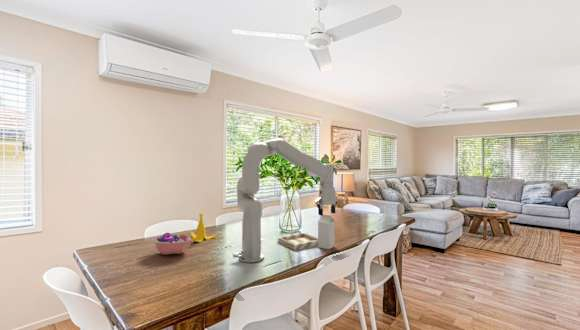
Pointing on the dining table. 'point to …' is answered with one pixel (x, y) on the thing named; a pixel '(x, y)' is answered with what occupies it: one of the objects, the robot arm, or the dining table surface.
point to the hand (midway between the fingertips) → (326, 214)
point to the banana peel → (201, 232)
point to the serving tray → (298, 241)
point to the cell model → (172, 243)
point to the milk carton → (326, 232)
